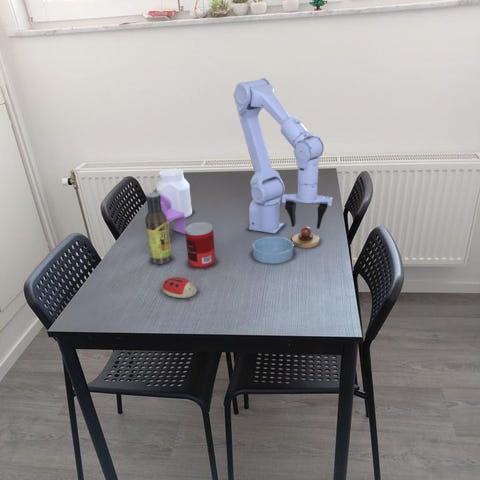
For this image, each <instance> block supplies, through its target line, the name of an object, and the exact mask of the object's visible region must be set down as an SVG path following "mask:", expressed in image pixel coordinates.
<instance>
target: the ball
mask: <svg viewBox="0 0 480 480" xmlns="http://www.w3.org/2000/svg"><path fill="white" fill-rule="evenodd" d="M300 233H301V235H302V236H303V237H309V236H310V235H311V233H312V229H311V227H309V226H303V227H302V228H301V229H300Z"/></svg>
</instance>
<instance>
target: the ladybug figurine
mask: <svg viewBox="0 0 480 480" xmlns="http://www.w3.org/2000/svg"><path fill="white" fill-rule="evenodd" d="M197 289H198V288H197V287H196V285H195V283H194V282H192V281H191V280H189V279H186V278H184V277H178V276H177V277H170V278H168V279H166V280H165V281H164V282H163V283H162V288H161V290H162V292H163V293H164V294H165V295H166V296H169V297H172V298H176V299H188V298H192V297H194V296H195V295H197V292H198V290H197Z"/></svg>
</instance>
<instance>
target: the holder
mask: <svg viewBox="0 0 480 480" xmlns="http://www.w3.org/2000/svg"><path fill="white" fill-rule="evenodd" d="M291 241H292V242H293V244H294V246H295V247H297V248H302V249H306V248H307V249H308V248H309V249H310V248H314V247H316V246H318V245H319V244H320V236H319V235H317V234H315V233H312V232H311V235H310V236H309V237H303V236H302V235H301V232H300V233H296V234H294V235H293V236H292V237H291Z"/></svg>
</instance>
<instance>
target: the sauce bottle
mask: <svg viewBox="0 0 480 480" xmlns="http://www.w3.org/2000/svg"><path fill="white" fill-rule="evenodd" d="M145 200H146V203H147V205H146V206H147V211H148V212H147V214H146V215H145V229H146V235H147V237H146V238H147V244H148V250H149V257H150V261H151V262H152V263H153V264H157V265H164V264H167V263H169V262H171V261H172V245H171V237H170V229H169V225H168V220H167V217H166V215H165V214H164V212H163V211H162V207H161V201H160V200H161V195H160V193H157V192H155V191H153V192H148V193H147V194H145Z"/></svg>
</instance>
